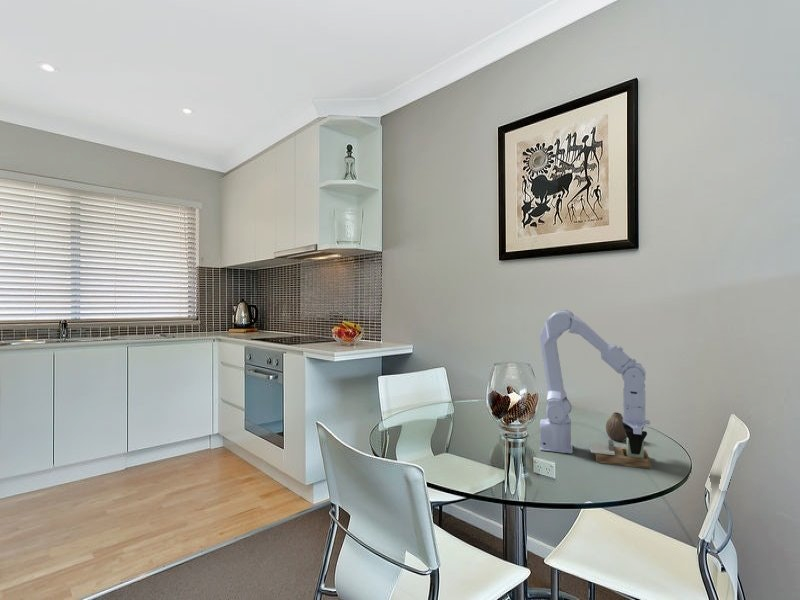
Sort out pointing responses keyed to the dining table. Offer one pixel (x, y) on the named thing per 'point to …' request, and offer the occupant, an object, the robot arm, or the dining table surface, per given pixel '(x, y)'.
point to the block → (635, 454)
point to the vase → (616, 427)
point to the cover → (602, 447)
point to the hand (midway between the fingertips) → (634, 450)
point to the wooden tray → (624, 458)
